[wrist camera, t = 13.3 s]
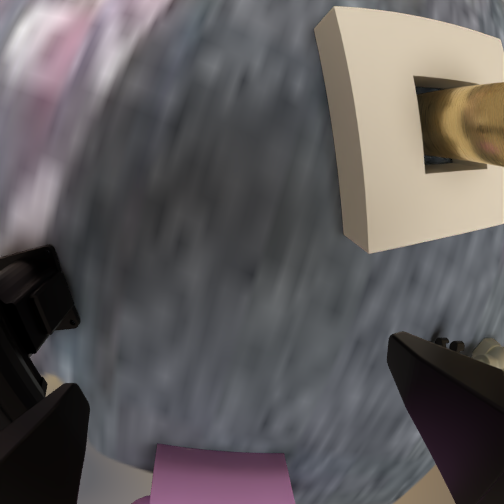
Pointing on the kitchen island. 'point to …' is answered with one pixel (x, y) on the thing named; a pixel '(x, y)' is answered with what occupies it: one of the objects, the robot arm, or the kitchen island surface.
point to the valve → (480, 351)
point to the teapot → (218, 477)
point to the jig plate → (403, 126)
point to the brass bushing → (464, 123)
